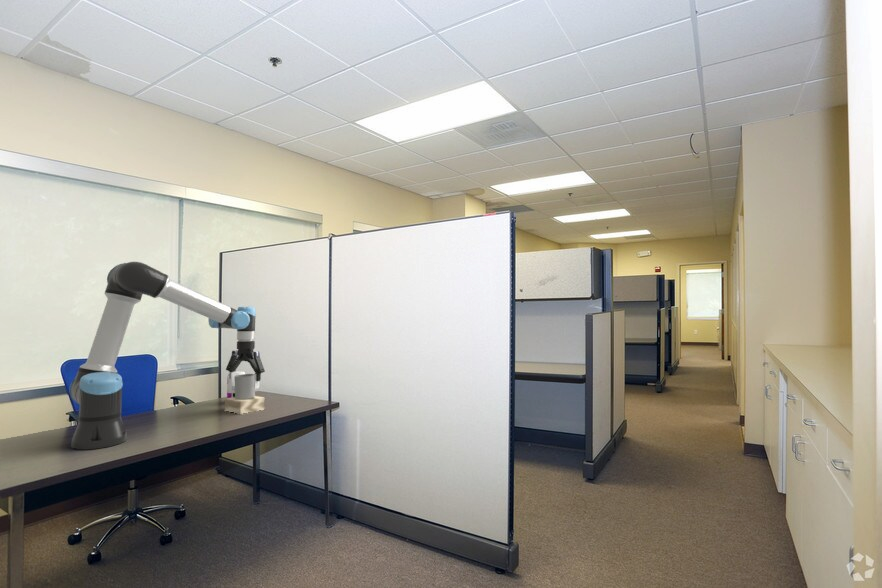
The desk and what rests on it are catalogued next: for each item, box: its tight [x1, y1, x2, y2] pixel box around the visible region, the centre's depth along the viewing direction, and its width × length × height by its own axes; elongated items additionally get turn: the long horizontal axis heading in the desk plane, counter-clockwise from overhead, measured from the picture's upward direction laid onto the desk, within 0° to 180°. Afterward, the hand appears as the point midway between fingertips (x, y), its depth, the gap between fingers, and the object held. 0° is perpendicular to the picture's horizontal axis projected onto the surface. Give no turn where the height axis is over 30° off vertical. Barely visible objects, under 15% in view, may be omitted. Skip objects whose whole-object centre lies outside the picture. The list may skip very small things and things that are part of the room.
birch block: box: [224, 395, 266, 415], centre depth 205 cm, size 12×12×6 cm
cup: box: [234, 373, 256, 400], centre depth 206 cm, size 8×8×10 cm
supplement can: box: [226, 370, 246, 398], centre depth 221 cm, size 8×8×15 cm
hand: (244, 387), depth 205 cm, fingers open, 13 cm apart
